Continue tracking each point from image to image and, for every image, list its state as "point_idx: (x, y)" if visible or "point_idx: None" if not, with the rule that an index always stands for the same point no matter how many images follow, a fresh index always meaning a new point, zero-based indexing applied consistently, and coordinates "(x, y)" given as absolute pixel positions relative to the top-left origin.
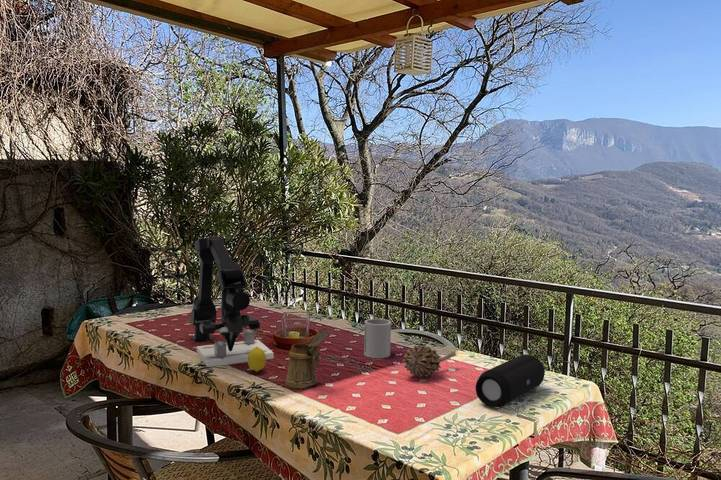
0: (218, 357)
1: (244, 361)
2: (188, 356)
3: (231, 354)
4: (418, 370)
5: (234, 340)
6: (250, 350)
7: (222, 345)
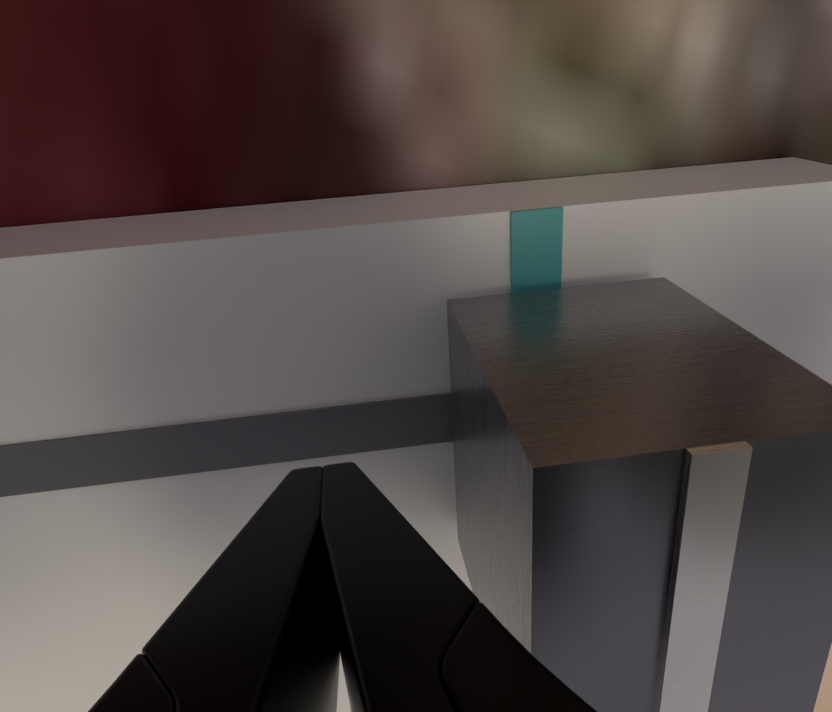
0: None
1: (33, 225)
2: (823, 704)
3: None
4: None
5: (152, 688)
6: None
7: (668, 440)
